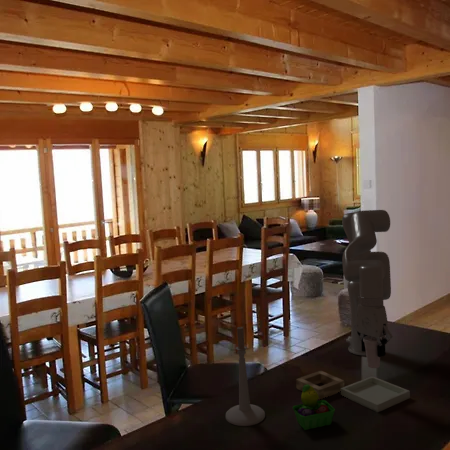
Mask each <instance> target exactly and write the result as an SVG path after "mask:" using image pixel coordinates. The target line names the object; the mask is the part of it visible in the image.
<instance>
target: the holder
mask: <svg viewBox="0 0 450 450" xmlns="http://www.w3.org/2000/svg"><path fill="white" fill-rule="evenodd" d="M295 382H296V383H295V384H296V385H295V386H296V388H295V389H297V390H299V391H301V392H303V386H304V385H307V384H308V385H310V386H312V387H313V388H314V390H315V391H316V392H317V394H318V396H319V400H318V401H320V399H321V400H324V399H326V398H328V396H329V397H331V396H334V395H336V394H338V392H339V393H341V392H340V391H341V389H340V388H343V387H345V384H346V383H345V380H344V379H341V378H339V377H337V376H335V375H333V374H330V373H327V372H325V371H323V370H318V371H315V372H312V373H309V374H307V375H304V376H300V377H299V378H296V379H295ZM318 384H323V385H320V386H319V385H318ZM325 397H326V398H325ZM323 398H324V399H323Z"/></svg>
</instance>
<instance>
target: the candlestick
mask: <svg viewBox="0 0 450 450" xmlns="http://www.w3.org/2000/svg"><path fill="white" fill-rule="evenodd" d="M236 336H237V346H236V347H235V350H237V355H238V356H239V357H238V395H239V396H238V398H239V399H238V403H239V404H237V405H234V406H232V407H230V408H229V409H228V410H227V411H226V412H225V420H226V422H228V423H229V424H232V425H234V426H239V427H247V426H248V427H249V426H254V425H257V424H259V423H261V422H263V420H265V417H266V413H265V409H263V408H262V407H260V406H259V405H255V404H251V399H250V394H249V393H250V392H249V385H248V384H249V383H248V375H247V365H246V358H245V354H246V352H247V351H246V350H247V349H248V347H247V346H245V339H244V338H245V336H244V327H243V326H238V327H237V328H236Z"/></svg>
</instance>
